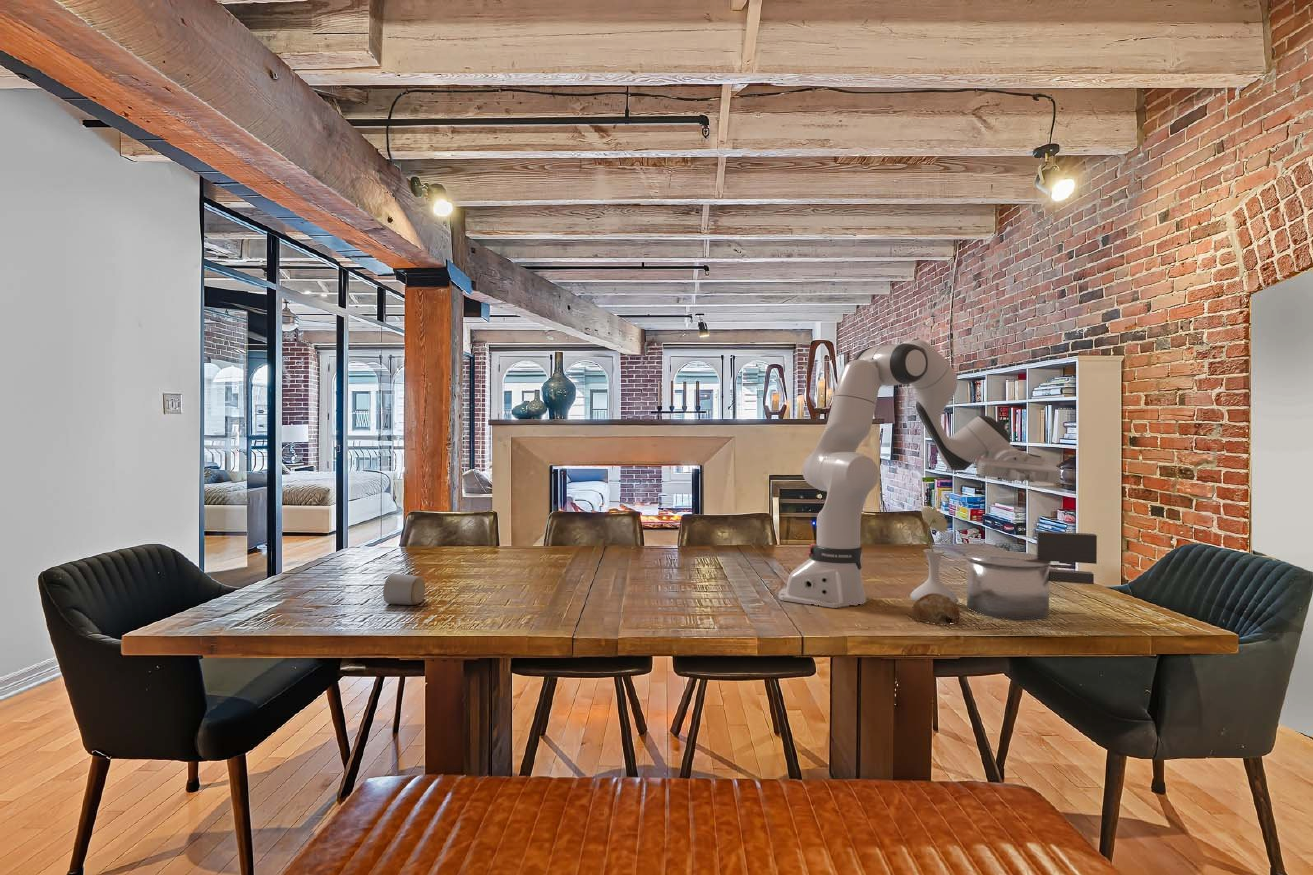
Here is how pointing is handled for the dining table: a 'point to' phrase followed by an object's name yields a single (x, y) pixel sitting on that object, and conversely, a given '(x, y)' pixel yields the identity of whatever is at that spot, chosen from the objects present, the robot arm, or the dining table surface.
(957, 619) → the bread roll
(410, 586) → the ceramic mug
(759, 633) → the dining table surface
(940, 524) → the flower in vase
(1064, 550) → the cooker lid
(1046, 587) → the cooker pot
